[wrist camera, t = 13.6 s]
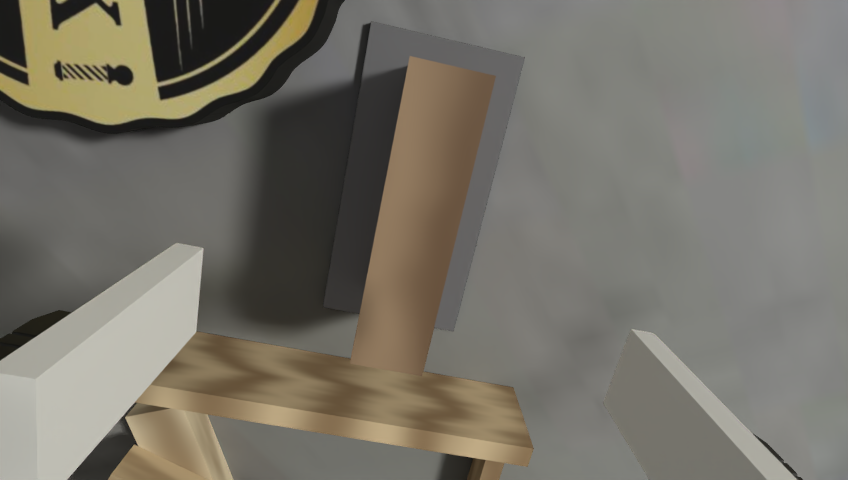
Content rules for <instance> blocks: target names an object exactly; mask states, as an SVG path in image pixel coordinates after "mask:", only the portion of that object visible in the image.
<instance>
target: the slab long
mask: <svg viewBox="0 0 848 480" xmlns="http://www.w3.org/2000/svg"><path fill="white" fill-rule="evenodd" d="M125 418H126V420H127V423H128V425H129V427H130V429H131V431H132V433H133V436H134V438H135V440H136V442H137V444H138V446H139V447H141V448H143V449H145V450H147V451H149V452H151V453H153V454H155V455H157V456H160V457H162V458H164V459H166V460H168V461H170V462H172V463H174V464H176V465H178V466H180V467H183V468H185V469H187V470H189V471H191V472H193V473H195V474H197V475H199V476H201V477H203V478H206V479H208V480H233V478H232V475H231V473H230V470H229V468H228V465H227V463H226V460H225V458H224V455H223V453H222V450H221V448H220V445H219V443H218V440H217V438H216V435H215V433H214V430H213V428H212V425H211V423H210V420H209V418H208V415H207V414H202V413H196V412H190V411H184V410H178V409H172V408H166V407H159V406H153V405H147V404H141V403H137V404H136V405H135V406H134V407H133V408H132V410H131V411H130V412H129V413H128V414H127V415H126V417H125Z"/></svg>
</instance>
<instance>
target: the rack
mask: <svg viewBox="0 0 848 480" xmlns="http://www.w3.org/2000/svg"><path fill="white" fill-rule="evenodd" d="M350 360H351V359H349V358H344V357H338V356H332V355H327V354H321V353H315V352H310V351H304V350H298V349H293V348H287V347H281V346H276V345H270V344H265V343H259V342H253V341H248V340H242V339H236V338H231V337H225V336H219V335H214V334H208V333H202V332H197V331H196V333H195V334H194V335H193V336H192V337H191V339H190V340H189V341H188V342H187V343H186V344H185V345H184V347H183V348H182V349H181V350H180V351H179V352H178V353H177V355H176V356H175V357H174V358H173V359H172V360H171V361H170V363H169V364H168V365H167V366H166V367H165V368H164V369H163V371H162V372H161V373H160V374H159V375H158V376H157V377H156V379H155V380H154V381H153V382H152V383H151V384H150V385H149V387H148V388H147V389H146V390H145V391H144V392H143V393H142V395H141V396H140V397H139V398H138V399H137V400H136V401H135V403H141V404H147V405H153V406H159V407H166V408H172V409H178V410H184V411H190V412H196V413H202V414H208V415H215V416H221V417H227V418H233V419H239V420H245V421H251V422H257V423H263V424H270V425H276V426H282V427H288V428H294V429H300V430H306V431H312V432H318V433H325V434H331V435H337V436H343V437H349V438H355V439H361V440H367V441H373V442H380V443H386V444H392V445H398V446H404V447H410V448H416V449H422V450H429V451H435V452H441V453H447V454H453V455H459V456H465V457H471V458H473V461H472V464H471V468H470V471H469V474H468V478H467V480H499V478H500V475H501V472H502V469H503V466H504V463H508V464H514V465H520V466H526V467H528V464H529V461H530V458H531V455H532V452H533V449H534V448H533V445H532V442H531V439H530V436H529V433H528V430H527V427H526V424H525V421H524V418H523V415H522V412H521V409H520V406H519V403H518V400H517V397H516V394H515V391H514V388H513V387H507V386H502V385H496V384H490V383H485V382H479V381H473V380H468V379H462V378H457V377H451V376H445V375H440V374H434V373H428V372H423V374H422V376H417V375H411V374H406V373H400V372H394V371H389V370H383V369H377V368H372V367H366V366H360V365H355V364H350Z"/></svg>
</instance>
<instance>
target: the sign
mask: <svg viewBox="0 0 848 480" xmlns="http://www.w3.org/2000/svg"><path fill="white" fill-rule="evenodd" d="M344 1H345V0H0V100H2V101H3V102H5V103H6V104H8V105H9V106H10V107H13V108H14V109H15V110H17V111H19V112H21V113H23V114H25V115H28V116H31V117H35V118H42V119H56V120H65V121H70V122H73V123H76V124H79V125H82V126H84V127H87V128H90V129H93V130H96V131H99V132H104V133H123V132H129V131H135V130H141V129H148V128H153V127H184V126H190V125H196V124H201V123H207V122H212V121H215V120H218V119H220V118H222V117H224V116H225V115H227V114H228V113H230V112H231V111H233V110H234V109H236V108H237V107H239V106H241V105H243V104H245V103H248V102H251V101H255V100H259V99H262V98H265V97H268V96H270V95H272V94H273V93H275V92H276V91H277V90H279V89H280V88H281V87H282V85H283V84H284V83H285V82H286V80H287V79H288V77H289V76H290V74H291V73H292V71H293V70H294V69H295V68H296V67H297V66H298V65H299V64H301V63H302V62H303V61H305V60H306V59H308V58H309V57H310V56H312V55H313V54H314V53H316V52H317V51H318V50H319V49H320V48H321V47H322V46H323V45H324V44H325V42H326V41H327V39H328V37H329V35H330V33H331V30H332V28H333V26H334V24H335V21H336V18H337V14H338V10H339V8H340V6H341V5H342V3H343V2H344Z"/></svg>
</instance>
